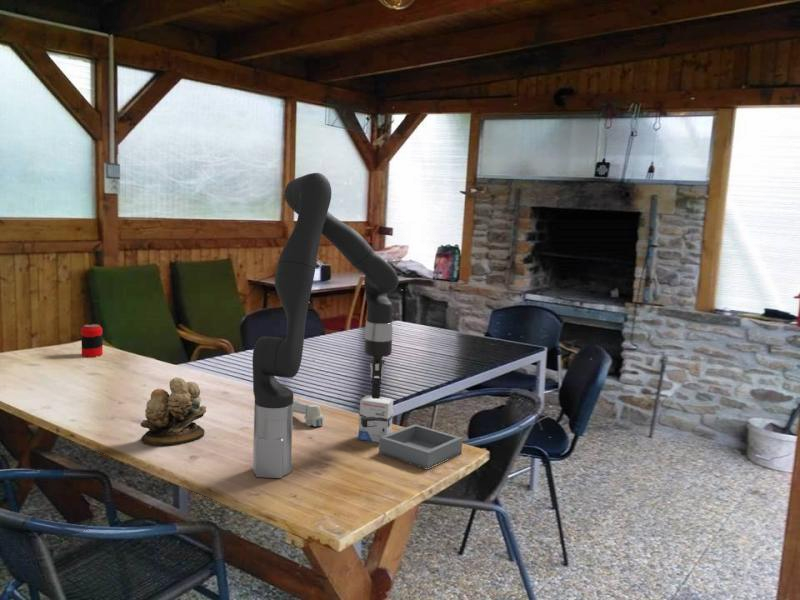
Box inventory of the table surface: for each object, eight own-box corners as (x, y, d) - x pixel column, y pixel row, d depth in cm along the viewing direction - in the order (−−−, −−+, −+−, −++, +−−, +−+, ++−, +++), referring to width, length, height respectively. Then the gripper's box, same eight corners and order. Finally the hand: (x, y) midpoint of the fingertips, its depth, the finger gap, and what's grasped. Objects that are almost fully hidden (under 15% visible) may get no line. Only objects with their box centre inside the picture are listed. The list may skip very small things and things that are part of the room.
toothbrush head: (281, 393, 226) (326, 402, 207) (282, 413, 226) (327, 424, 208) (267, 395, 222) (312, 404, 204) (268, 416, 223) (313, 427, 204)
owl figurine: (195, 426, 202) (196, 368, 199) (215, 438, 193) (217, 377, 191) (133, 437, 190) (134, 376, 187) (151, 450, 181) (152, 386, 179)
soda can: (99, 352, 282) (98, 323, 280) (105, 356, 276) (105, 326, 275) (79, 354, 277) (78, 324, 276) (85, 358, 272) (84, 327, 270)
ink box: (357, 439, 198) (359, 399, 196) (363, 434, 202) (365, 394, 201) (386, 444, 195) (388, 403, 193) (391, 438, 200) (393, 398, 198)
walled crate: (461, 453, 191) (462, 438, 190) (427, 469, 178) (428, 452, 177) (414, 439, 200) (415, 424, 200) (378, 453, 188) (379, 437, 187)
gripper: (392, 343, 188) (389, 402, 190) (392, 332, 202) (389, 387, 204) (364, 342, 188) (361, 400, 190) (366, 331, 202) (363, 386, 204)
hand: (375, 393), depth 197 cm, fingers open, 8 cm apart
